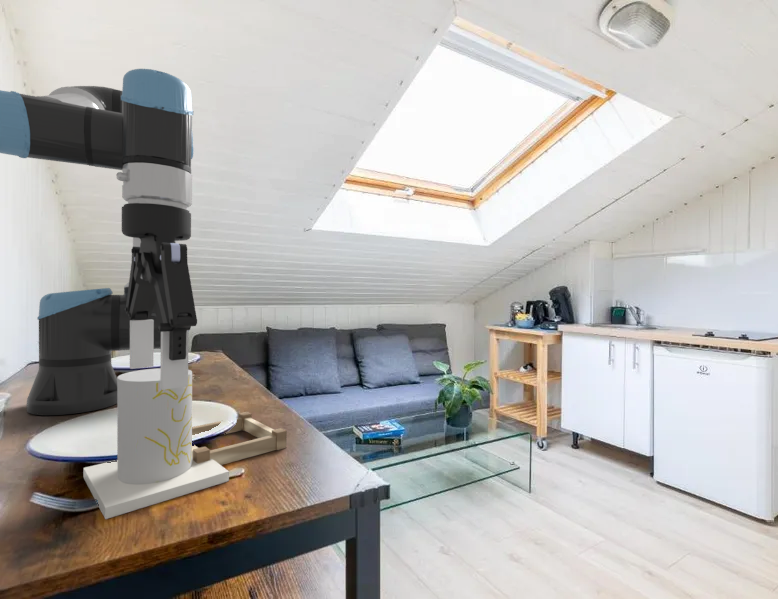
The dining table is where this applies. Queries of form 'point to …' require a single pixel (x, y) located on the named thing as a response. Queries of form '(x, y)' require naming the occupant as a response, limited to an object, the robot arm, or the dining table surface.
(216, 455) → the square wooden frame
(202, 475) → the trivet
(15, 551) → the dining table surface
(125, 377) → the cup
